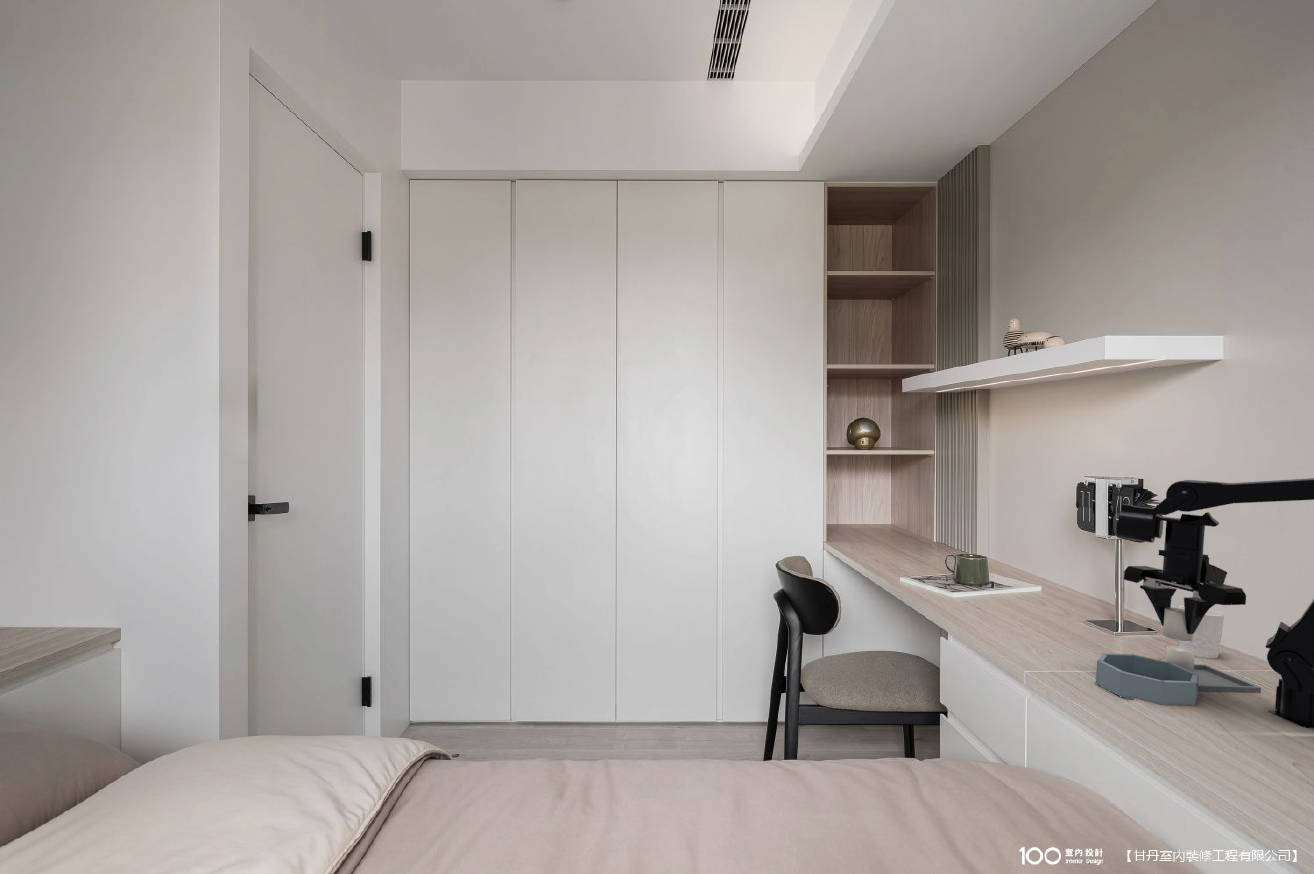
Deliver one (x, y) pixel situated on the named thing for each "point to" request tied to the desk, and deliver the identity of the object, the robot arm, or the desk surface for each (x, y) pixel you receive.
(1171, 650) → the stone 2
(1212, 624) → the white cup
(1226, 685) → the parts tray
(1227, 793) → the desk surface
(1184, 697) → the bowl
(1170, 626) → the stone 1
